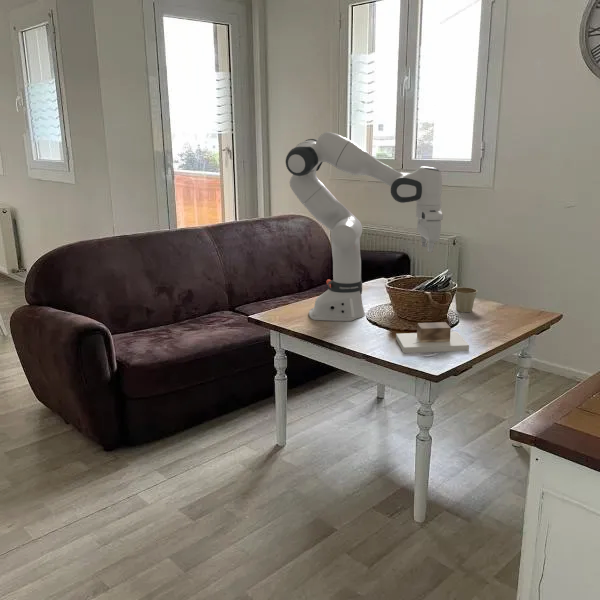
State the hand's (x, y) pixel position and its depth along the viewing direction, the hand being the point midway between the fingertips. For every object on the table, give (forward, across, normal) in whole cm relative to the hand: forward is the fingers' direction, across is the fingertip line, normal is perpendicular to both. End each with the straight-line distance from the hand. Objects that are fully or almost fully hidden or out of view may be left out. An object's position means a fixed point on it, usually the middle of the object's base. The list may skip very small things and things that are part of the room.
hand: (427, 249), depth 226 cm
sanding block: (+27, +23, -2) cm, 35 cm away
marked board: (+29, +23, -3) cm, 37 cm away
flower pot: (+29, -15, +20) cm, 39 cm away
